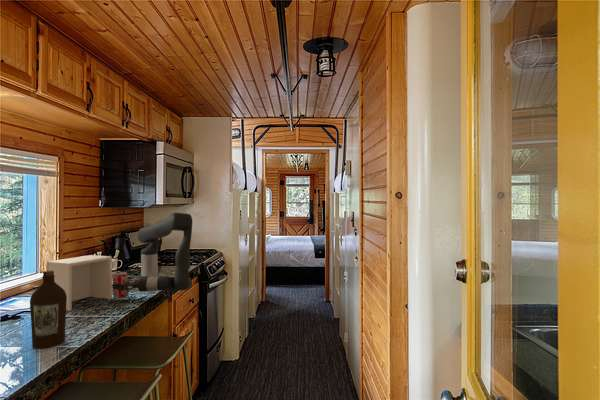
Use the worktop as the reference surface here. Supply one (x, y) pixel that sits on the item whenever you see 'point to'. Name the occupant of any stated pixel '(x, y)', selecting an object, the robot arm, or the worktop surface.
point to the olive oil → (48, 313)
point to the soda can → (119, 279)
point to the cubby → (83, 277)
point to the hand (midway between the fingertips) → (116, 284)
